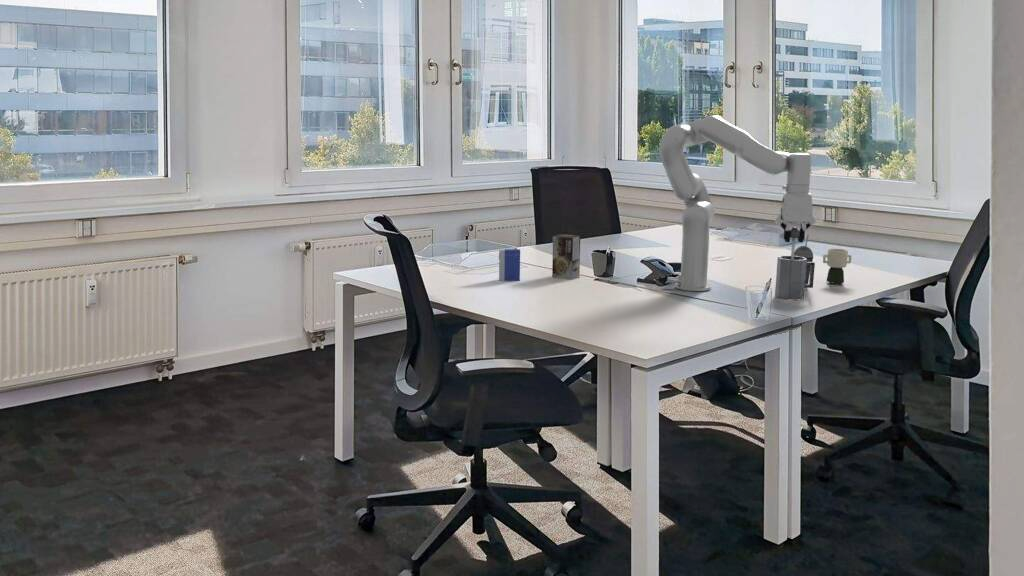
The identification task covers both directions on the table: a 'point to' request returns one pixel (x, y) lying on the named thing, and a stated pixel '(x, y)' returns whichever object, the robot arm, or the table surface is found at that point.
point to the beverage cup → (806, 253)
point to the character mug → (836, 264)
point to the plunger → (794, 234)
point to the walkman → (509, 264)
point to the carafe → (792, 277)
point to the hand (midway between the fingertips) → (793, 241)
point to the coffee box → (566, 256)
